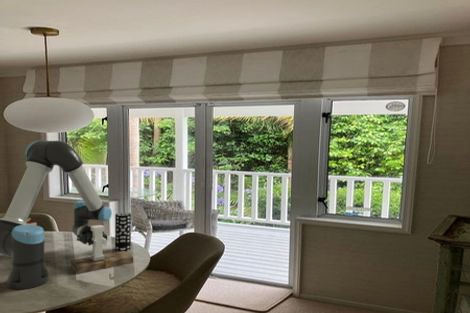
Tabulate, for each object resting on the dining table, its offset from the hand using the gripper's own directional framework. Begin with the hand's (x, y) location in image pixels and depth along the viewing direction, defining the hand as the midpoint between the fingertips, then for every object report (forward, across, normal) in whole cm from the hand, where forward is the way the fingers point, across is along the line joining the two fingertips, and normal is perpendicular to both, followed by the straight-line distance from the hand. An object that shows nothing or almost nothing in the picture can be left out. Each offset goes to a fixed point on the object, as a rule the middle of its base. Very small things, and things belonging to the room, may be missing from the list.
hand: (101, 243), depth 163 cm
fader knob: (-5, 0, -9) cm, 10 cm away
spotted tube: (-23, -20, -12) cm, 33 cm away
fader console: (-5, -2, -12) cm, 13 cm away
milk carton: (-43, +24, -12) cm, 51 cm away
